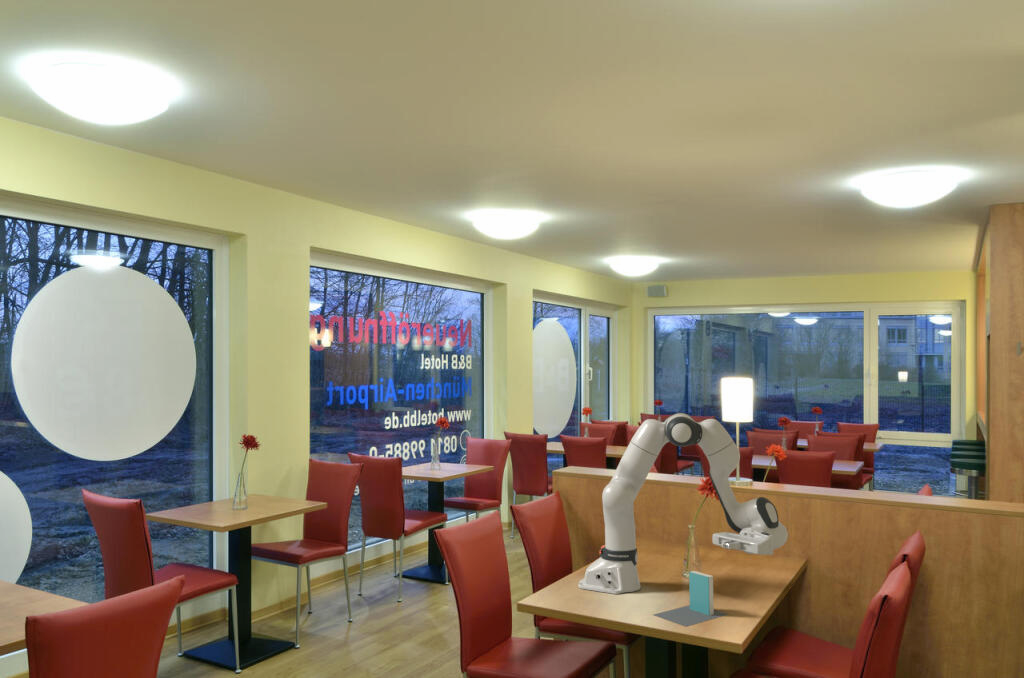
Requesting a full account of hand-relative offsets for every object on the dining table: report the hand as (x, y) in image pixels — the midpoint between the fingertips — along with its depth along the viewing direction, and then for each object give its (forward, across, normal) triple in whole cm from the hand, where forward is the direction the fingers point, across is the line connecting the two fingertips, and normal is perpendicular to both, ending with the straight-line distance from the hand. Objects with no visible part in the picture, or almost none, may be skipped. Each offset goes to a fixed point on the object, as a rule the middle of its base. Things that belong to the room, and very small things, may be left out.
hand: (725, 546), depth 253 cm
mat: (+17, 0, +20) cm, 26 cm away
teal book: (+12, 0, +19) cm, 23 cm away
